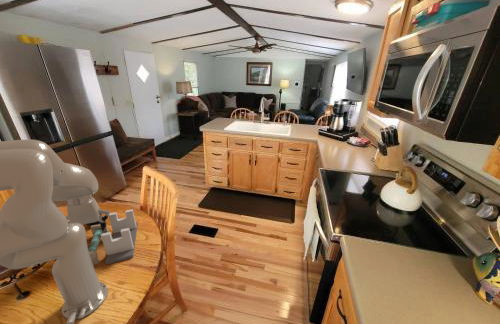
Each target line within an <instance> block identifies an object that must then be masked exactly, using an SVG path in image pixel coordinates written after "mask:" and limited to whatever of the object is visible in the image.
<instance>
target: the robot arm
mask: <svg viewBox="0 0 500 324" xmlns="http://www.w3.org/2000/svg"><path fill="white" fill-rule="evenodd" d="M8 190H15V192H14V193H12V194H11V195H10V196H9V197H8V198H7V200H5V202H4V203H3V204H2V206H1V208H0V266H1V267H5V268H7V269H9V270H10V269H11V270H21V269H24V268H28V267H32V266H36V265H39V264H42V263H46V262H50V261H53V260H54V263H53V265H52V267H51V275H52V277H53V279H54V282H55V284H56V286H57V287H58V290H59V292H60V294H61V297H62V299H63V301H64V302H63V305H62V307H61V314H62V316H63V317H64V318H65V319H66V320H67V321H66V322H65V324H74V323H75V321H76V320H78V319H83V318H84V317H86V316H88V315H90V314H92V313H93V312H94V311H96V310H97V309H98V308H99V307H100V306H101V305H102V304H103V302H105V300H106V299H107V296H108V293H109V289H108V286H107V285H106V283H104V282H102V281H101V282H100V280H99V277H98V274H97V272H96V269H95V265H93V263H92V260H91V257H90V254H89V251H88V248H89V246H88V242H87V241H88V240H87V239H88V238H87V232H86V228H85V226H84V225H86V224H88V223H93V222H97V221H99V222H101V223H100V225H101V228H102V230H104V229H105V227H106V226H107V222H106V221H107V220H108V218H109V214H110V213H111V211H110V210H106V209H101V208H100V206H99V204H98V202H97V200H96V198H94V197H93V196H92V195H95V194H96V193H97V192H98V190H99V182H98V179H97V177H96V176H95V174H94V173H93V172H92V171H91V170H90V169H88V168H86V167H84V166H81V165H76V164H72V163H68V162H64V161H63V160H62V158H61V157H60V156H59V155H58V154H57V153H56V152H55V151H54V150H53V149H52V147H50V146H49V144H47V143H46V142H44V141H41V140H37V139H15V140H13V139H12V140H4V141H2V140H1V141H0V192H2V191H8ZM60 201H61V202H62V201H63V202H67V204H66V212H67V213H66V214H67V216H66V215H65V214H64V213H63V211H62V210H60V208H59V207H58V206H57V205H56V203H54V202H60ZM101 214H103V215H101Z"/></svg>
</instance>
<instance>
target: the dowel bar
mask: <svg viewBox="0 0 500 324" xmlns="http://www.w3.org/2000/svg"><path fill="white" fill-rule="evenodd" d="M108 229H109V228H108V226H107V225H106V227H105V229H104V230H102V228H101V225H100V224H98V225H93V226H90V230H91V233H92V236H93V237H92V239H91V241H90V243H89V246H88V251H89V254H90V257H91V260H92V263H93V265H94V266H95V265H98V264H99V263H100V259H99V257H98V254H97V249H98V246H99V243H100V241H101V239H102V238H101V235H102V234H103V233H107V232H109V230H108Z"/></svg>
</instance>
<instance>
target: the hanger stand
mask: <svg viewBox="0 0 500 324" xmlns="http://www.w3.org/2000/svg"><path fill="white" fill-rule="evenodd" d="M125 216H126V217H122V218H119V217H118V213H117V212H116V211H115V212H110V213H109V216H108V218H109V221H110V225H111V229H112V232H113V234H112V233H111V231H108V232H107V233H103V234H102V235H101V238H100V239H101V240H102V244H103V247H104V251H105V254H106V258H105V262H104V263H105V265H110V264H113V263H118V262H121V261H125V260H129V259H132V258H134V254H135V246H136V240H137V239H136V237H137V233H138V232H137V231H138V222H137V221H136V218H135V214H134V209H133V208H132V209H127V210H125Z"/></svg>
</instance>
